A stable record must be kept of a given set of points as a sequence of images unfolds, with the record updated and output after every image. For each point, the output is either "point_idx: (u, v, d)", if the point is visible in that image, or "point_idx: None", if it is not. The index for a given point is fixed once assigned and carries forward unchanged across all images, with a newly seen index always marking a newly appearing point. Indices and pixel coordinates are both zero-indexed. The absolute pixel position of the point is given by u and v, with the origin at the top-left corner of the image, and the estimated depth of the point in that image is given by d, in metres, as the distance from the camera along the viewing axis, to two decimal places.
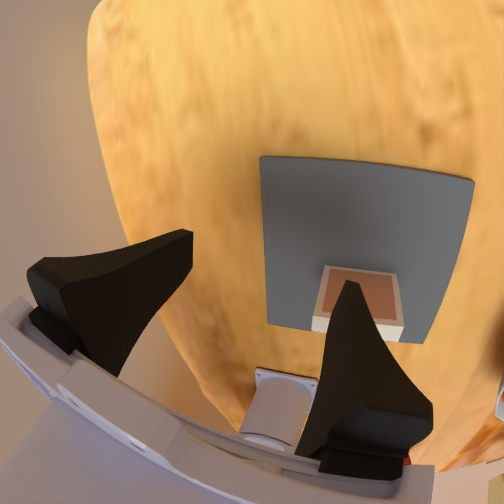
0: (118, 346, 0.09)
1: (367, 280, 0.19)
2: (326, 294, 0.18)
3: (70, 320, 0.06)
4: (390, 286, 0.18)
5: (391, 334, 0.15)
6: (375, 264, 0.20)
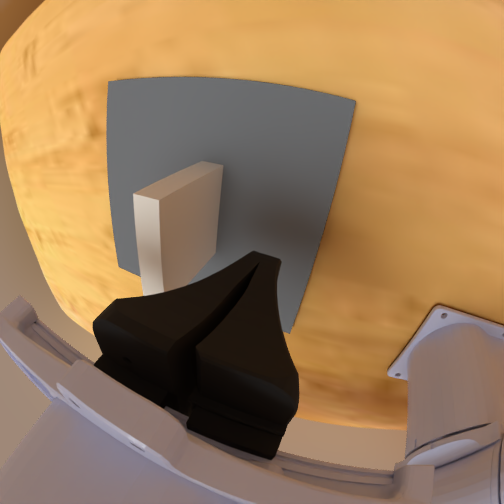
0: None
1: None
2: None
3: (170, 380, 0.06)
4: None
5: (146, 211, 0.11)
6: None
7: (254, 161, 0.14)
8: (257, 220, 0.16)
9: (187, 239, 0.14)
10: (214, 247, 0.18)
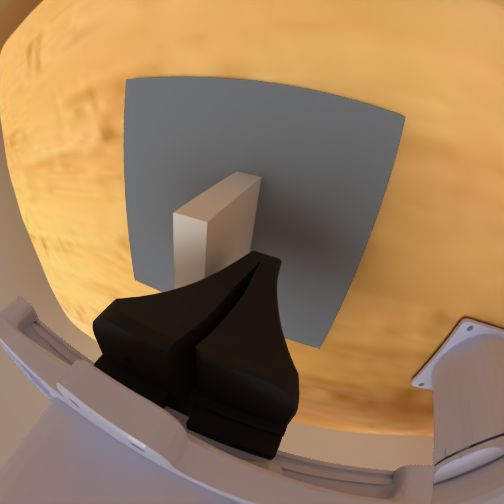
0: None
1: None
2: None
3: (170, 380, 0.06)
4: None
5: (190, 232, 0.10)
6: None
7: (296, 174, 0.13)
8: (295, 236, 0.15)
9: (227, 260, 0.13)
10: None
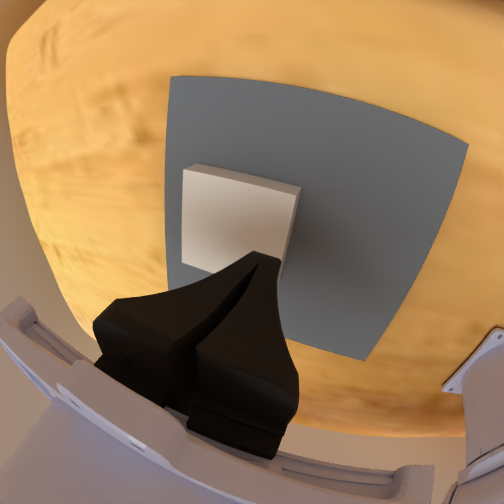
0: None
1: None
2: None
3: (170, 381, 0.06)
4: None
5: None
6: None
7: (365, 194, 0.13)
8: (357, 255, 0.14)
9: (218, 230, 0.15)
10: None
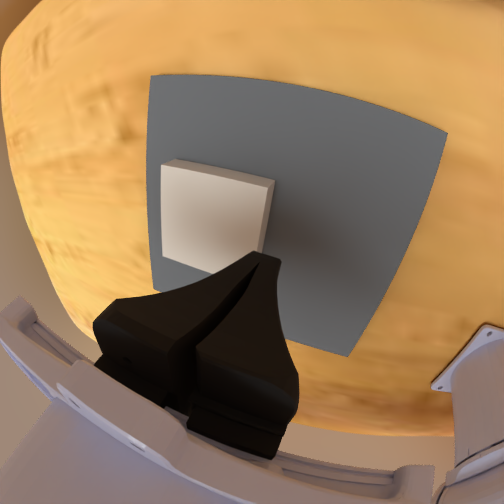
0: None
1: None
2: None
3: (171, 381, 0.06)
4: None
5: None
6: None
7: (340, 186, 0.13)
8: (334, 248, 0.15)
9: (194, 223, 0.15)
10: None
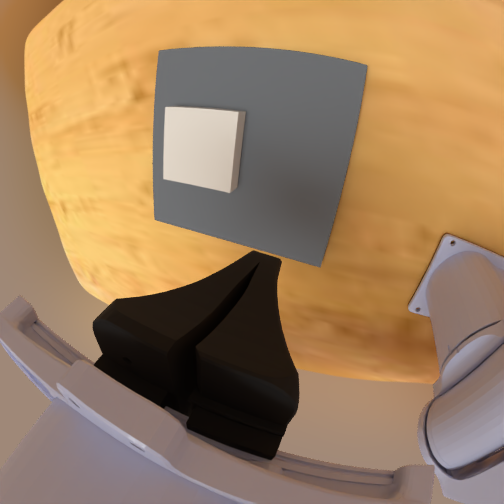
0: None
1: None
2: None
3: (171, 381, 0.06)
4: None
5: None
6: None
7: (291, 110, 0.17)
8: (293, 158, 0.19)
9: (188, 146, 0.19)
10: (227, 184, 0.20)
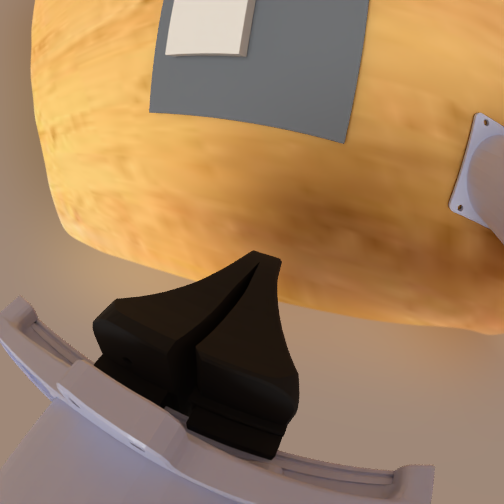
0: None
1: None
2: None
3: (170, 381, 0.06)
4: None
5: None
6: None
7: None
8: (307, 24, 0.13)
9: (196, 18, 0.14)
10: (235, 46, 0.14)
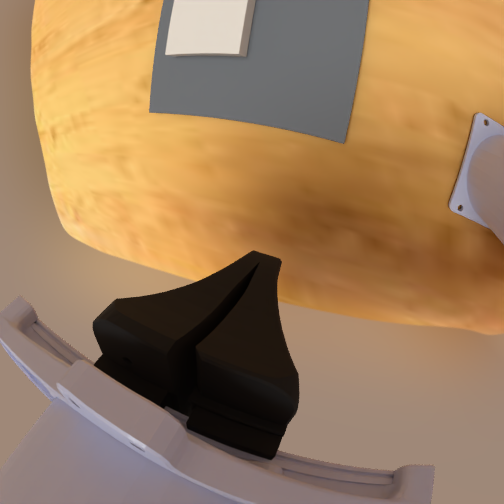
0: None
1: None
2: None
3: (170, 381, 0.06)
4: None
5: None
6: None
7: None
8: (307, 24, 0.13)
9: (196, 18, 0.14)
10: (235, 46, 0.14)
